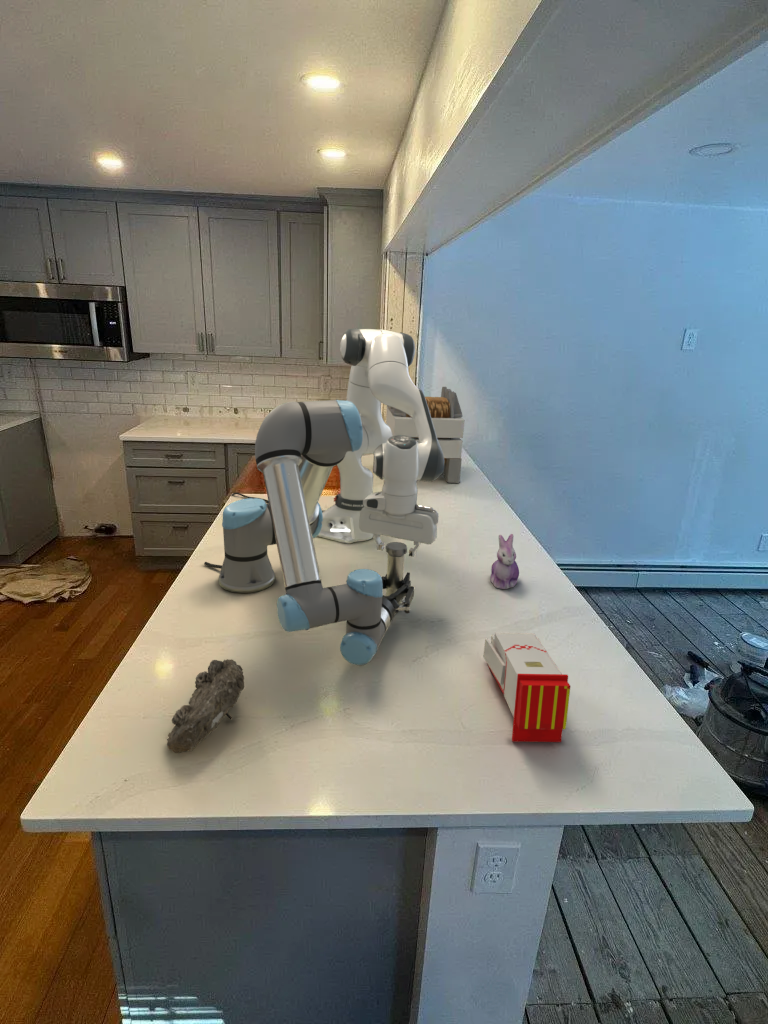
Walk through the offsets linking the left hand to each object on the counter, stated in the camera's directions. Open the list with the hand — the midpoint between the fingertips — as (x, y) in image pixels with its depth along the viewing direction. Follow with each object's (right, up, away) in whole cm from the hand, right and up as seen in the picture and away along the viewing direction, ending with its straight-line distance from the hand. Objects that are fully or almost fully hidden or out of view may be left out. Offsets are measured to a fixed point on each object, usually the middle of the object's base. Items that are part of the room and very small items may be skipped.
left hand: (399, 575), depth 154 cm
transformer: (+13, +36, +121) cm, 127 cm away
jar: (-2, -8, -3) cm, 8 cm away
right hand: (-1, +7, -8) cm, 10 cm away
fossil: (-37, -22, -46) cm, 63 cm away
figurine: (+31, -4, +13) cm, 34 cm away
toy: (+24, -21, -36) cm, 48 cm away
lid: (-1, +8, -8) cm, 12 cm away
